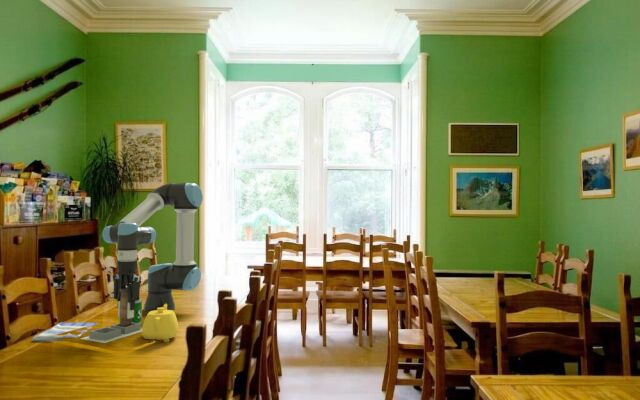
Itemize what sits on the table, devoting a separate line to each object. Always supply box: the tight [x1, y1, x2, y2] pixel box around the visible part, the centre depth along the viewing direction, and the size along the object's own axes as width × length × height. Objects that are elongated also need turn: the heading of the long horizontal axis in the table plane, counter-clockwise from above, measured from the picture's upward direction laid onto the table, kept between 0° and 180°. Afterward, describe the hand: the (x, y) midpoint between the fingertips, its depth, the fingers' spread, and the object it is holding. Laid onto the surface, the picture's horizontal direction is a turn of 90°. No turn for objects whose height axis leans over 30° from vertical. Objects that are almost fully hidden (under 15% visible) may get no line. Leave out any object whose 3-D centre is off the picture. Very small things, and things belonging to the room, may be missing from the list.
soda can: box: [132, 296, 143, 324], centre depth 200 cm, size 8×8×12 cm
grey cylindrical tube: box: [119, 286, 132, 326], centre depth 186 cm, size 5×5×15 cm
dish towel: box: [31, 321, 100, 342], centre depth 186 cm, size 17×24×3 cm
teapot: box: [141, 304, 179, 344], centre depth 180 cm, size 13×20×12 cm
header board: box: [79, 322, 142, 344], centre depth 182 cm, size 22×13×4 cm, turn 156°
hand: (125, 317), depth 186 cm, fingers closed on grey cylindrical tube, 4 cm apart
